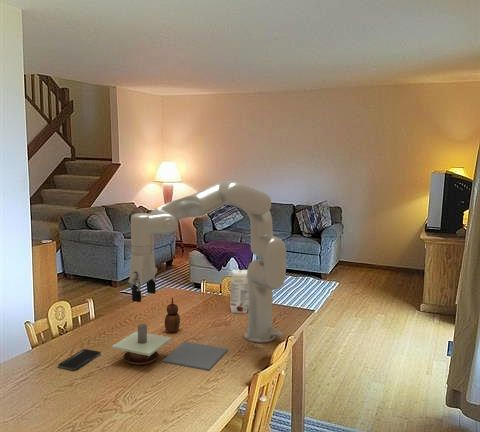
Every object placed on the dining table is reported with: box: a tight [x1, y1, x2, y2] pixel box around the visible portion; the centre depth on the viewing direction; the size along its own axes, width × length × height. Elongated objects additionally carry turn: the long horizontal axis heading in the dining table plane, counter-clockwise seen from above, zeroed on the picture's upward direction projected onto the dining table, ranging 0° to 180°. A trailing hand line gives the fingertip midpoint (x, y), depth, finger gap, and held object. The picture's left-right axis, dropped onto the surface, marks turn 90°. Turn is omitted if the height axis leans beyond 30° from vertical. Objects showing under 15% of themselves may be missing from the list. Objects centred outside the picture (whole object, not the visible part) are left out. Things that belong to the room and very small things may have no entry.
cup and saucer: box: [123, 351, 159, 366], centre depth 173 cm, size 12×12×6 cm
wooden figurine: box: [164, 296, 181, 333], centre depth 199 cm, size 7×6×15 cm
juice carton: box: [229, 269, 249, 314], centre depth 225 cm, size 8×9×19 cm
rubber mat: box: [161, 341, 229, 372], centre depth 177 cm, size 18×18×1 cm
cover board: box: [111, 323, 173, 356], centre depth 172 cm, size 15×15×7 cm
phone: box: [57, 348, 102, 372], centre depth 171 cm, size 8×1×15 cm
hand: (144, 297), depth 170 cm, fingers open, 9 cm apart
